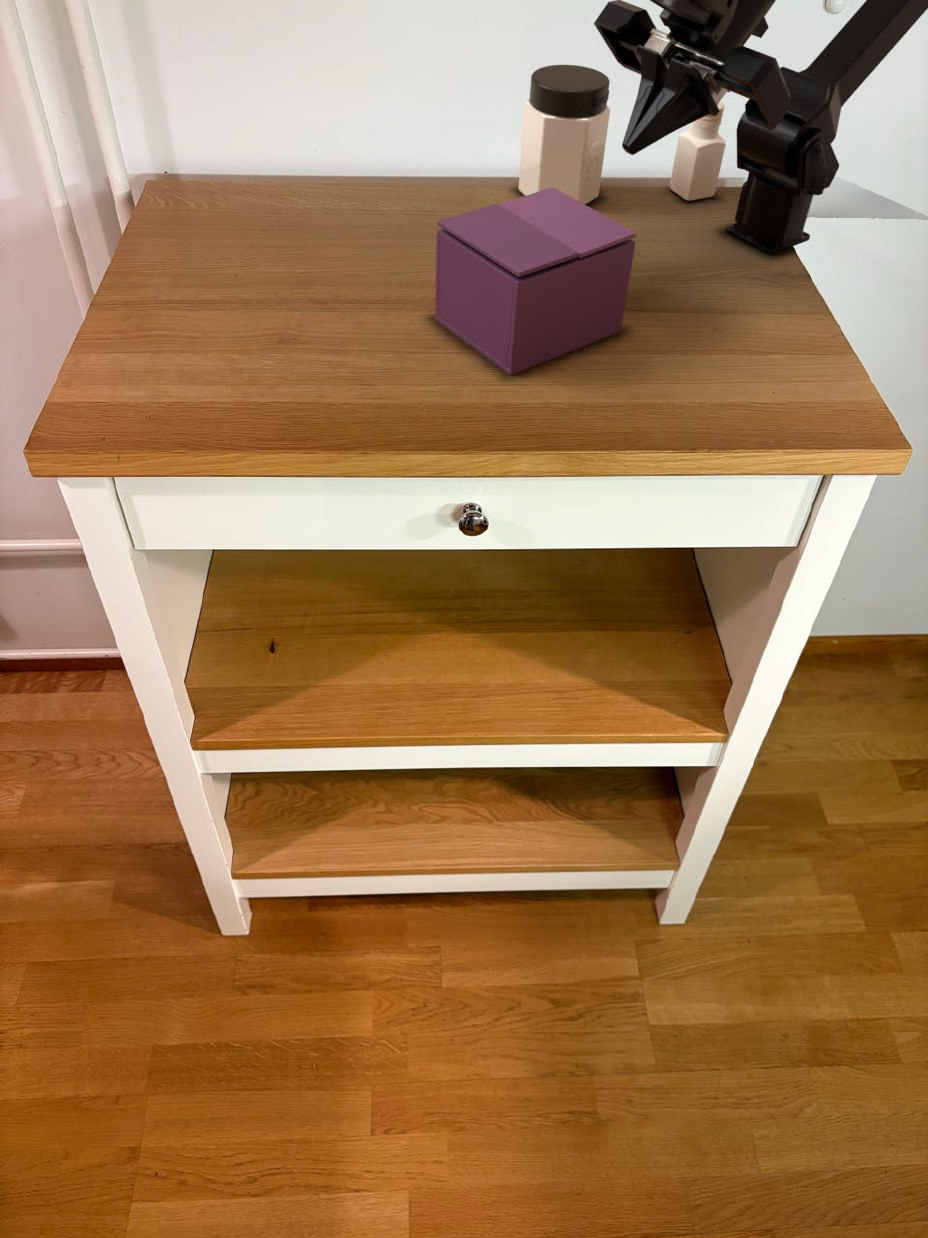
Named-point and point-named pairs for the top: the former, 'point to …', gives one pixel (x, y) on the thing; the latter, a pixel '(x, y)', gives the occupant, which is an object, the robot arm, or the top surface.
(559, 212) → the lid
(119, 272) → the top surface
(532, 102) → the jar
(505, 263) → the box
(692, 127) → the pepper shaker
